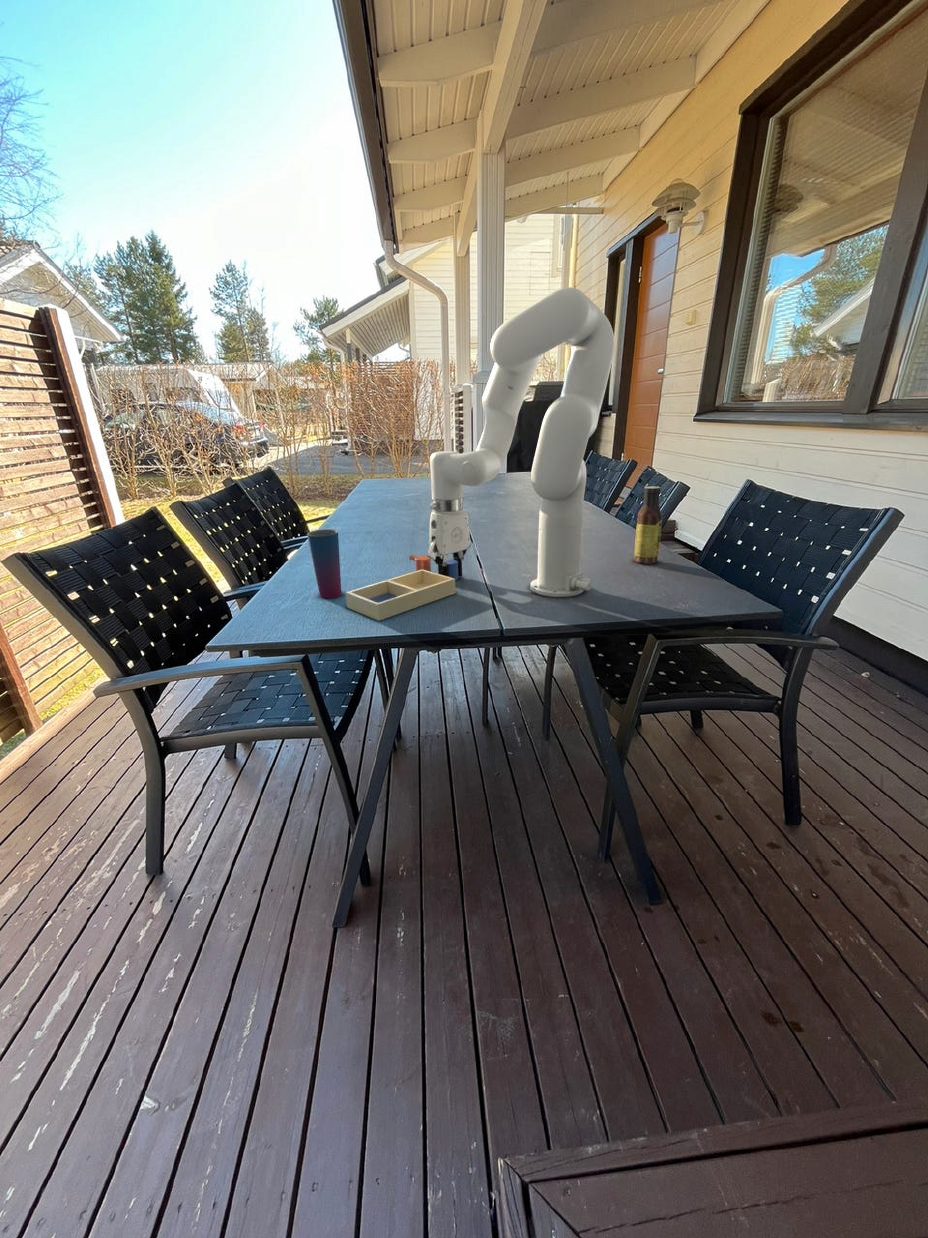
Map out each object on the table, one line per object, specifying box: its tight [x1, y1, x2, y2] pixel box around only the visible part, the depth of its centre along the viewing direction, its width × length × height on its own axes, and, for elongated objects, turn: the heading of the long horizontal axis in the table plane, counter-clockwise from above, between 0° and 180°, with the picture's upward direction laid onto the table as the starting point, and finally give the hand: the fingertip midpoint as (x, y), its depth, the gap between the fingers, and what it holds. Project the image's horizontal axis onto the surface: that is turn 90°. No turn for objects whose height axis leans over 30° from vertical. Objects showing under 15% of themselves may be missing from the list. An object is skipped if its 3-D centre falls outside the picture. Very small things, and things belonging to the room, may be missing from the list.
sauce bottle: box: [633, 485, 663, 565], centre depth 139 cm, size 7×6×20 cm
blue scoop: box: [446, 559, 459, 582], centre depth 133 cm, size 7×4×4 cm, turn 46°
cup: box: [306, 528, 342, 599], centre depth 121 cm, size 7×7×15 cm
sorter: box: [345, 569, 457, 622], centre depth 119 cm, size 12×22×4 cm, turn 135°
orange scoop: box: [408, 554, 432, 572], centre depth 137 cm, size 7×4×4 cm, turn 45°
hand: (450, 576), depth 133 cm, fingers closed on blue scoop, 4 cm apart
